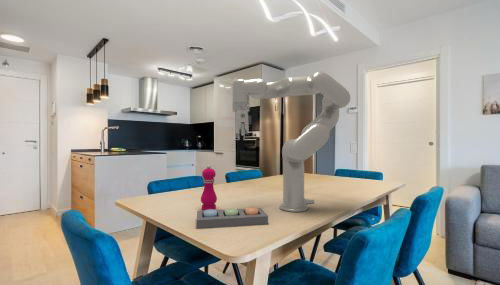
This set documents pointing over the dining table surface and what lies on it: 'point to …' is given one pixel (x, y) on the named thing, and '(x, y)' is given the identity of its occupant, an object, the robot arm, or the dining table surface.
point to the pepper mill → (208, 189)
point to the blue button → (210, 213)
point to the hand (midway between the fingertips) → (240, 149)
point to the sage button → (231, 212)
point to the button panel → (231, 219)
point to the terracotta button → (251, 211)
